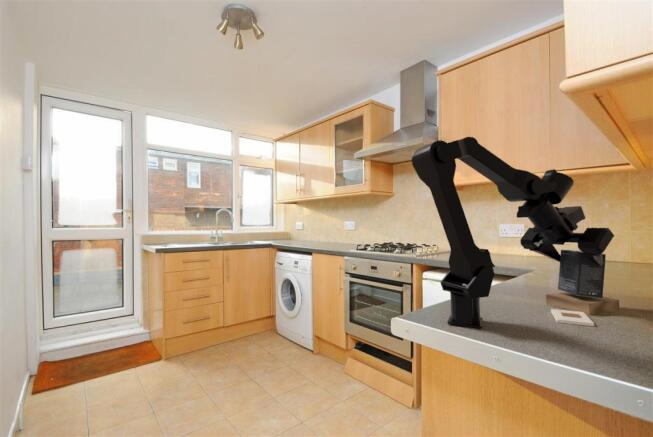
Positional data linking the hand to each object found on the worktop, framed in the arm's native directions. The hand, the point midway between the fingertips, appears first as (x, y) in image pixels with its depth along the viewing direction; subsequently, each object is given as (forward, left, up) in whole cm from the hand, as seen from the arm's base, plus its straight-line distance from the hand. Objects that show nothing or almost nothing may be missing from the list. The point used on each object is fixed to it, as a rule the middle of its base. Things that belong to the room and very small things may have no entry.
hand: (579, 262), depth 75 cm
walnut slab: (0, 0, -11) cm, 11 cm away
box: (0, 0, -8) cm, 8 cm away
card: (-12, +4, -11) cm, 17 cm away
